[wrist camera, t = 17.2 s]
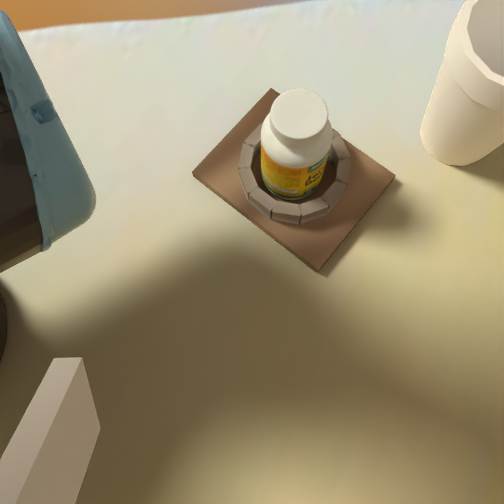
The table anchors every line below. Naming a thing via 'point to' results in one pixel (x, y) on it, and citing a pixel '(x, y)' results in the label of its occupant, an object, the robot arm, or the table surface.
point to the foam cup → (469, 88)
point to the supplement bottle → (295, 144)
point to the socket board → (301, 210)
